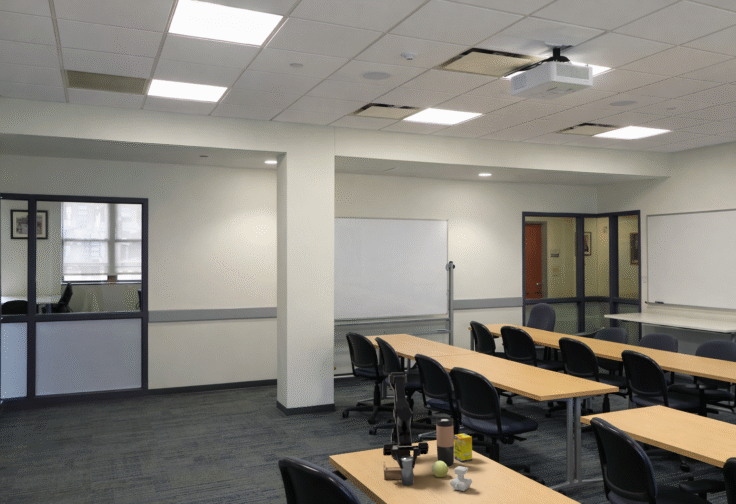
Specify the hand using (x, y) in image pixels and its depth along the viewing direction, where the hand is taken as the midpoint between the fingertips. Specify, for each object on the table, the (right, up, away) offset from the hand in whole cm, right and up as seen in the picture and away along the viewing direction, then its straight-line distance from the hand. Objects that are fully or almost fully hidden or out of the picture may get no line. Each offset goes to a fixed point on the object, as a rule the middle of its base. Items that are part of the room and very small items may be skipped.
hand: (407, 468), depth 241 cm
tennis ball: (+14, -7, +9) cm, 18 cm away
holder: (-4, -7, +12) cm, 14 cm away
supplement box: (+27, -7, +29) cm, 40 cm away
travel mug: (+19, -7, +23) cm, 30 cm away
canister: (0, -7, +1) cm, 7 cm away
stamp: (+21, -6, -6) cm, 23 cm away
